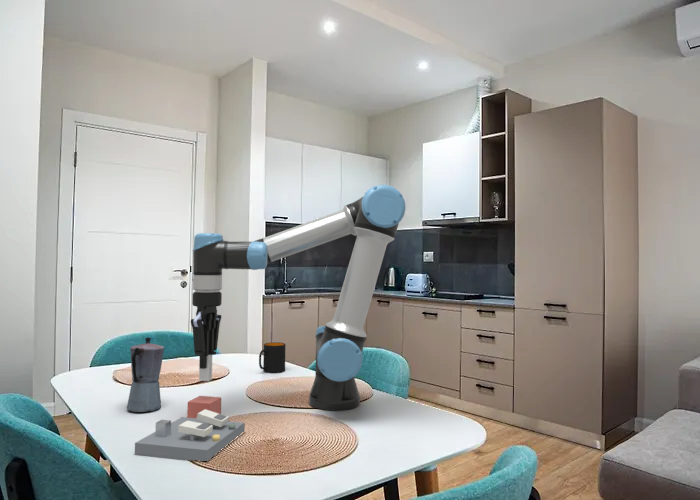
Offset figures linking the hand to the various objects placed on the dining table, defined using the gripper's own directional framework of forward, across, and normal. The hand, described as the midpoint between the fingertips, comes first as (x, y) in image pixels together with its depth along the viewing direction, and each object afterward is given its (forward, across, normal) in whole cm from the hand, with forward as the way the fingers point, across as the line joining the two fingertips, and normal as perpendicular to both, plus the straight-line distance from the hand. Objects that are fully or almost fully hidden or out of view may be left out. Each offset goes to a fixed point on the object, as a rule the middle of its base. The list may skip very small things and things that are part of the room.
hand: (205, 379), depth 136 cm
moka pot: (+11, -4, -20) cm, 23 cm away
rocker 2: (+6, +13, +8) cm, 16 cm away
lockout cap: (+10, 0, 0) cm, 10 cm away
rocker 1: (+6, +21, +8) cm, 23 cm away
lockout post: (+8, +21, 0) cm, 22 cm away
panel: (+10, +17, +6) cm, 21 cm away
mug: (+11, -60, -4) cm, 61 cm away
